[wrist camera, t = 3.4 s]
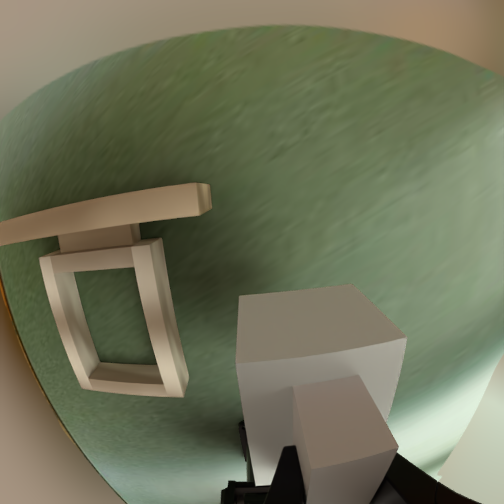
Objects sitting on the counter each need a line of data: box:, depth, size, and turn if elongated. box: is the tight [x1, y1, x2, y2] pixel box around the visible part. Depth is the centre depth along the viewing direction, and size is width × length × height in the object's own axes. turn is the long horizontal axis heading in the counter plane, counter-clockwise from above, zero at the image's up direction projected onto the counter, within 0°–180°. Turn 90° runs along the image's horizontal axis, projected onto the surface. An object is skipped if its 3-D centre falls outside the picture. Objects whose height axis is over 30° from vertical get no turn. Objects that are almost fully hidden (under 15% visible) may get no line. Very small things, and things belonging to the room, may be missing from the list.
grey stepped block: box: [235, 284, 407, 504], centre depth 9 cm, size 7×5×8 cm
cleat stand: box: [0, 182, 212, 397], centre depth 16 cm, size 14×16×5 cm
